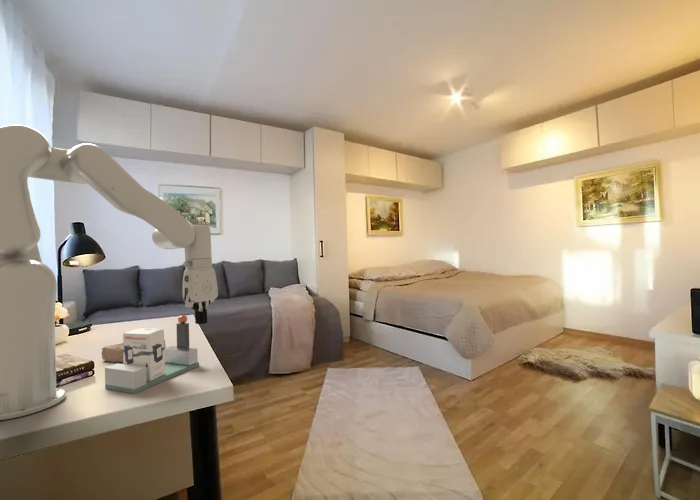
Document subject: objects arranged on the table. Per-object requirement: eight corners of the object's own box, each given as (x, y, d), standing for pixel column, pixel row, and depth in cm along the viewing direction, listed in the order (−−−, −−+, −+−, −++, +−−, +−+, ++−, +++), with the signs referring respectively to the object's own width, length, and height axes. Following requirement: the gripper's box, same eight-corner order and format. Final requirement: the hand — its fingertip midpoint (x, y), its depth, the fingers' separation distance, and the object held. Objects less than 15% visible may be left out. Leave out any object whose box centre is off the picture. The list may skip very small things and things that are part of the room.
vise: (134, 393, 73) (133, 371, 73) (105, 388, 77) (104, 367, 77) (199, 365, 91) (198, 348, 91) (173, 362, 95) (172, 345, 95)
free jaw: (189, 365, 88) (187, 317, 88) (162, 362, 91) (161, 316, 91) (200, 360, 92) (199, 315, 92) (174, 357, 95) (173, 313, 95)
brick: (148, 347, 113) (148, 333, 113) (167, 348, 111) (166, 334, 111) (100, 362, 97) (99, 347, 98) (120, 364, 95) (120, 349, 95)
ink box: (122, 379, 80) (121, 332, 80) (139, 372, 84) (138, 327, 85) (150, 381, 78) (149, 333, 78) (166, 373, 82) (165, 328, 83)
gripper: (188, 265, 90) (191, 330, 90) (225, 262, 104) (228, 318, 104) (168, 266, 93) (171, 328, 93) (207, 263, 107) (210, 317, 107)
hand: (201, 323), depth 99 cm, fingers closed
